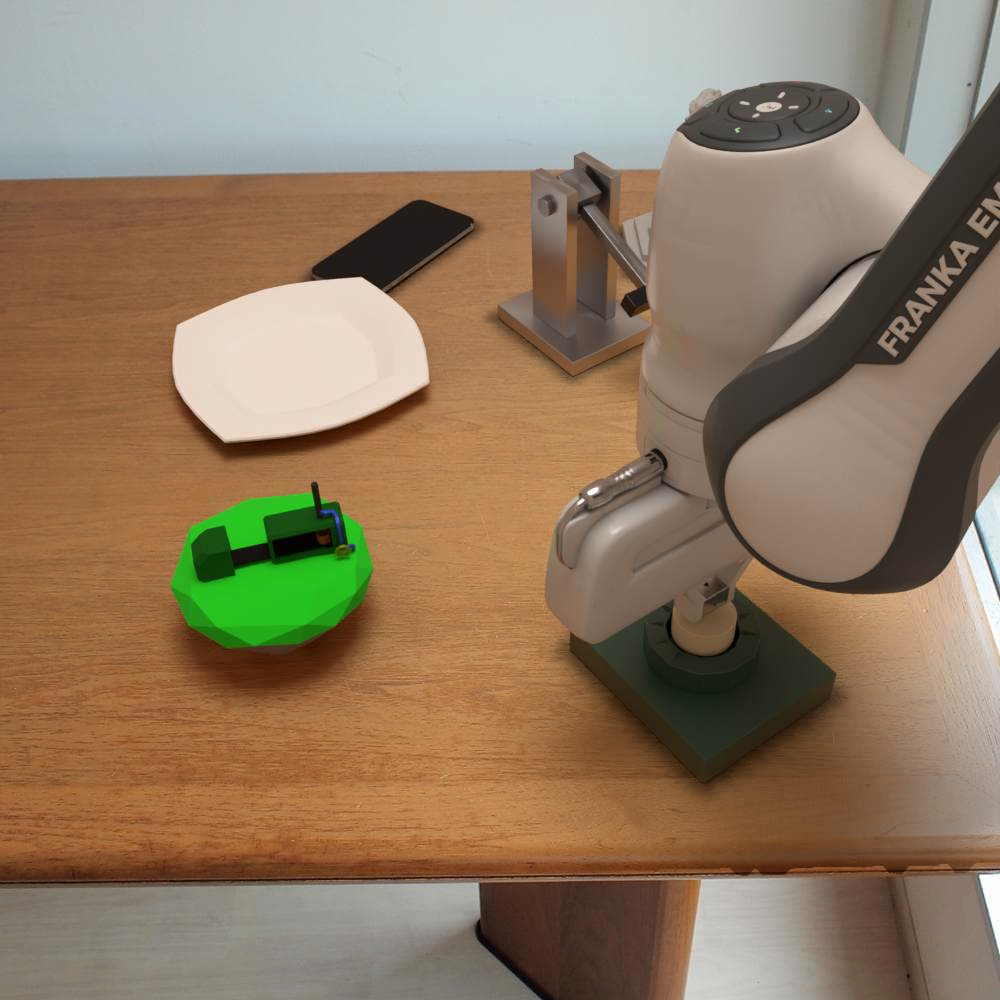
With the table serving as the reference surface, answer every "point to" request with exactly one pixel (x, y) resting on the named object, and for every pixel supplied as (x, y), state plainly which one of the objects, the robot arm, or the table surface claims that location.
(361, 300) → the plate
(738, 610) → the control block
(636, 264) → the press lever
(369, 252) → the smartphone
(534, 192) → the pivoting lever stand
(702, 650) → the button
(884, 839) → the table surface
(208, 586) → the miniature building
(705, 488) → the robot arm
